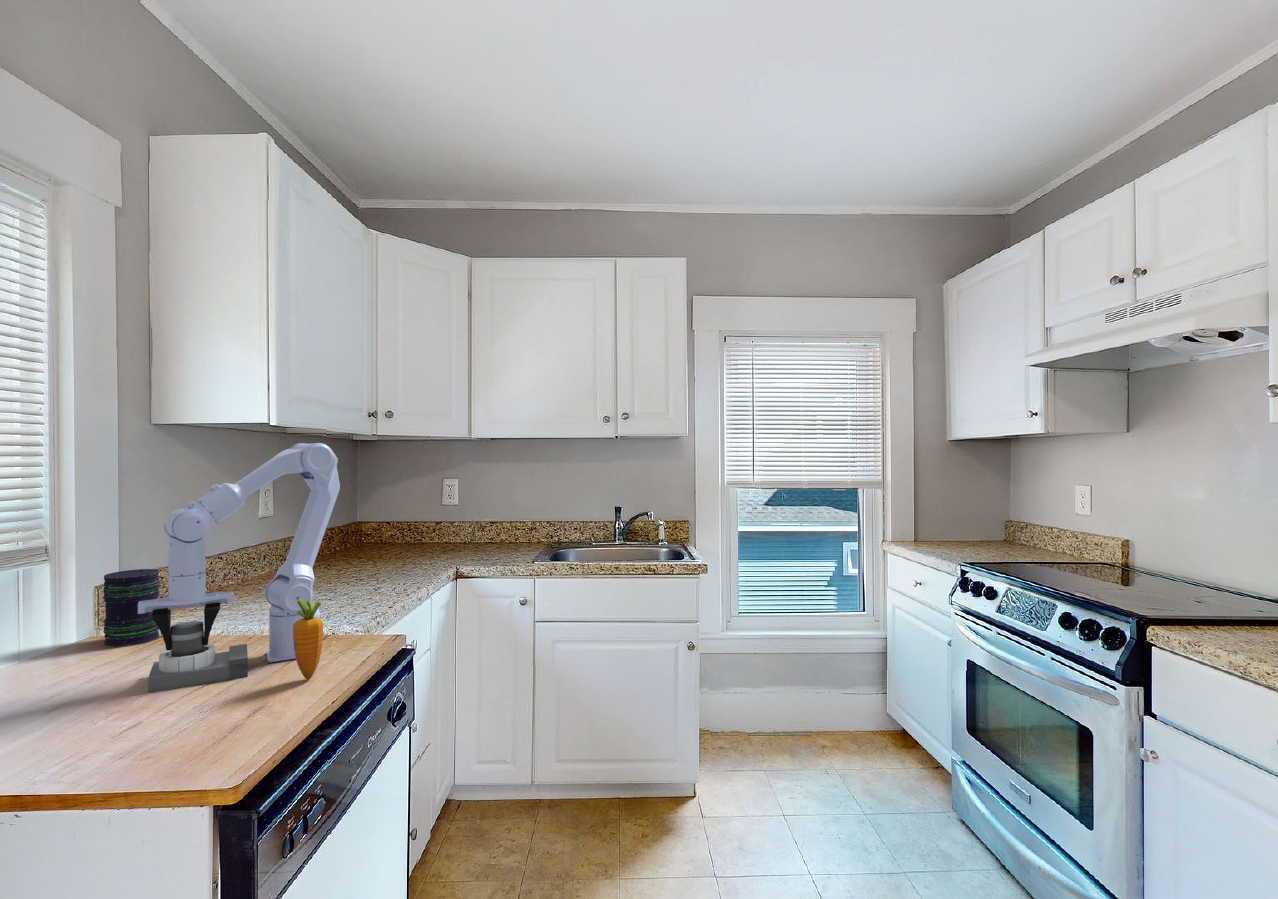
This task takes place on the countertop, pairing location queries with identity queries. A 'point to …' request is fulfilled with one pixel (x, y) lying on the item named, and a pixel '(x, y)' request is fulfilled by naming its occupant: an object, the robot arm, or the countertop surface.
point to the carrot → (308, 638)
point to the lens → (187, 639)
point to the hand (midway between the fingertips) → (187, 646)
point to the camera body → (198, 668)
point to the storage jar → (129, 607)
